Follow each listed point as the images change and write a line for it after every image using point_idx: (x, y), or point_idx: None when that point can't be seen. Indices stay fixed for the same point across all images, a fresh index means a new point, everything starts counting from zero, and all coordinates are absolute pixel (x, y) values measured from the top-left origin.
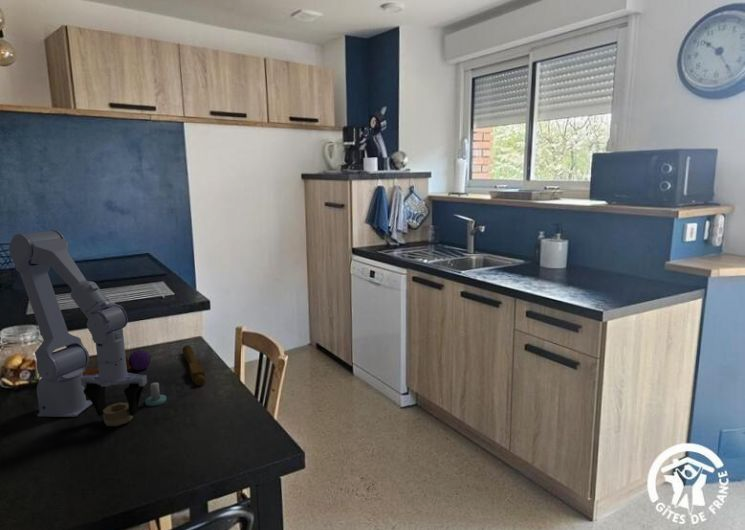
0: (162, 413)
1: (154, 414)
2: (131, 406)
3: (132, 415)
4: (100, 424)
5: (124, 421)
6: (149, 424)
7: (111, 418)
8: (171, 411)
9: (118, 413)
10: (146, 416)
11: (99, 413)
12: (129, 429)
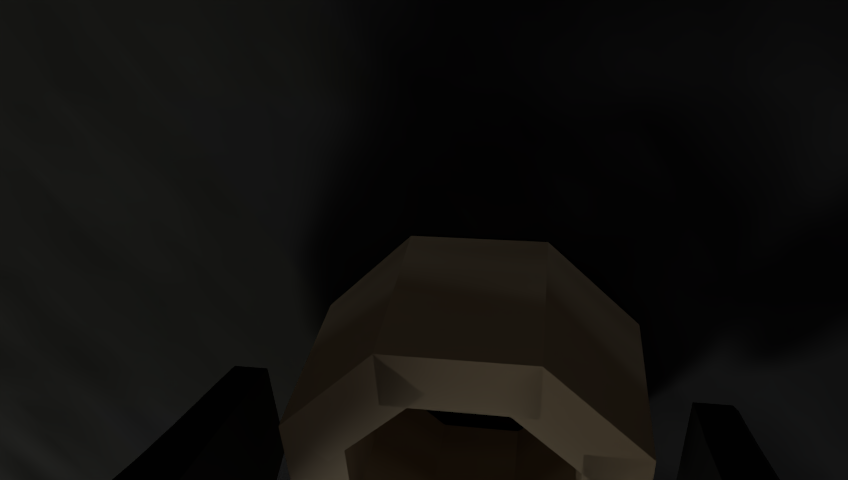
0: (104, 440)
1: None
2: (145, 462)
3: (234, 367)
4: (664, 281)
5: (344, 303)
6: (51, 254)
7: (460, 306)
8: (52, 462)
9: (349, 368)
10: None
11: (709, 423)
12: (190, 151)
